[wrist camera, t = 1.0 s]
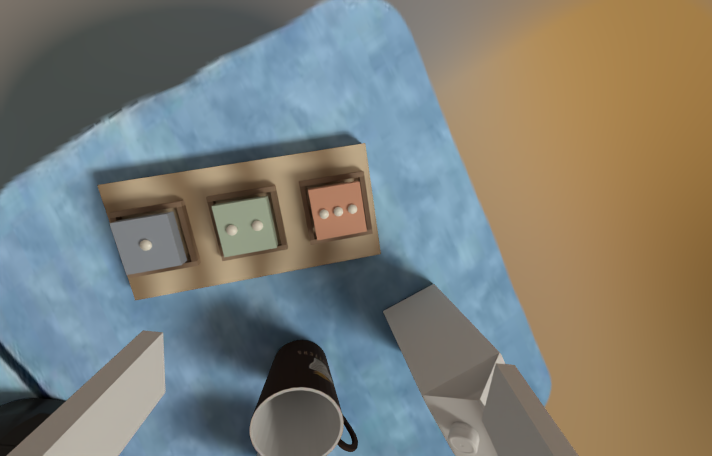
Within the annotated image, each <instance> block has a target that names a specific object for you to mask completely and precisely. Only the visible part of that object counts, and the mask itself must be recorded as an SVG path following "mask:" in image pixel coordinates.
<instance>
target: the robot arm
mask: <svg viewBox="0 0 712 456" xmlns="http://www.w3.org/2000/svg"><path fill="white" fill-rule="evenodd" d="M164 393H165V370H164V345H163V332H152V331H142V332H141V333H140V334H139V335H138V336H136V337H135V338H134V339H133V340H132V341H131V342H130V343H129V344H128V345H127V346H126V347H124V348H123V349H122V350H121V351H120V352H119V353H118V354H117V355H116V356H115V357H114V358H112V359H111V360H110V361H109V362H108V363H107V364H106V365H105V366H104V367H103V368H102V369H100V370H99V371H98V372H97V373H96V374H95V375H94V376H93V377H92V378H91V379H90V380H88V381H87V382H86V383H85V384H84V385H83V386H82V387H81V388H80V389H79V390H78V391H77V392H75V393H74V394H73V395H72V396H71V397H70V398H69V399H68V400H67V401H66V402H63V401H58V400H53V399H43V398H32V399H23V400H17V401H13V402H10V403H7V404H4V405H2V406H0V456H119V454H120V453H121V452H122V450H123V449H124V448H125V446H126V445H127V443H128V442H129V441H130V439H131V438H132V437H133V435H134V434H135V433H136V431H137V430H138V429H139V427H140V426H141V425H142V423H143V422H144V420H145V419H146V418H147V416H148V415H149V414H150V412H151V411H152V410H153V408H154V407H155V406H156V404H157V403H158V402H159V400H160V399H161V397H162V396H163V395H164ZM482 421H483V424H484V426H485V428H486V430H487V432H488V435H489V437H490V439H491V441H492V444H493V446H494V448H495V450H496V452H497V455H498V456H578V455H577V453H576V452H575V450H574V449H573V447H572V446H571V445H570V443H569V442H568V440H567V439H566V438H565V436H564V435H563V433H562V432H561V431H560V429H559V428H558V426H557V425H556V423H555V422H554V421H553V419H552V418H551V416H550V415H549V413H548V412H547V410H546V409H545V408H544V406H543V405H542V403H541V402H540V401H539V399H538V398H537V396H536V395H535V393H534V392H533V391H532V389H531V388H530V386H529V385H528V383H527V382H526V381H525V379H524V378H523V376H522V375H521V374H520V372H519V371H518V369H517V368H516V366H515V365H509V364H498V363H496V364H495V368H494V372H493V376H492V380H491V384H490V388H489V392H488V396H487V400H486V404H485V408H484V412H483V416H482Z"/></svg>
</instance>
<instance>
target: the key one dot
mask: <svg viewBox="0 0 712 456" xmlns="http://www.w3.org/2000/svg"><path fill="white" fill-rule="evenodd" d="M110 227H111V230H112V233H113V236H114V239H115V242H116V245H117V248H118V251H119V254H120V257H121V260H122V263H123V266H124V269H125V272H126V275H130V274H136V273H141V272H147V271H152V270H158V269H163V268H169V267H174V266H180V265H182V264H183V263H185V262H186V261H187V258H186V255H185V251H184V248H183V244H182V241H181V237H180V233H179V230H178V226H177V223H176V219H175V216H174V212H173V211H172V212H166V213H160V214H154V215H148V216H142V217H136V218H130V219H124V220H118V221H115V222H112V223H110Z"/></svg>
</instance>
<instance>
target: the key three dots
mask: <svg viewBox="0 0 712 456" xmlns="http://www.w3.org/2000/svg"><path fill="white" fill-rule="evenodd" d="M308 192H309V198H310V203H311V209H312V214H313V219H314V225H315V230H316V236H317V240H323V239H328V238H334V237H339V236H345V235H350V234H356V233H361V232H367V228H366V221H365V215H364V208H363V201H362V195H361V188H360V182H359V181H352V182H346V183H340V184H334V185H328V186H322V187H316V188H310V189H308Z"/></svg>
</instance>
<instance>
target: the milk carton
mask: <svg viewBox="0 0 712 456" xmlns="http://www.w3.org/2000/svg"><path fill="white" fill-rule="evenodd" d="M383 313H384V315H385V317H386V319H387V322H388V324H389V326H390V328H391V330H392V332H393V335H394V337H395V339H396V341H397V343H398V345H399V348H400V350H401V352H402V354H403V356H404V358H405V360H406V363H407V365H408V367H409V369H410V371H411V373H412V376H413V378H414V380H415V382H416V384H417V386H418V388H419V391H420V393H421V395H422V397H423V399H424V401H425V403H426V405H427V406H428V408H429V410H430V412H431V414H432V415H433V417H434V419H435V421H436V423H437V424H438V426H439V428H440V430H441V432H442V433H443V435H444V437H445V439H446V441H447V442H448V444H449V446H450V448H451V449H452V451H453V453H454V454H455V455H456V456H498V455H497V452H496V450H495V448H494V446H493V444H492V441H491V439H490V437H489V435H488V432H487V430H486V428H485V426H484V424H483V421H482V416H483V412H484V408H485V404H486V400H487V396H488V392H489V388H490V384H491V380H492V376H493V372H494V368H495V364H496V363H498V364H505V362H504V360H503V358H502V356H501V354H500V352H499V351H498V350H497V349H496V348H495V347H494V346H493V345H492V344H491V343H490V342H489V341H488V340H487V339H486V338H485V337H484V336H483V335H482V334H481V333H480V332H479V330H478V329H477V328H476V327H475V326H474V325H473V324H472V323H471V322H470V321H469V320H468V319H467V318H466V317H465V316H464V315H463V314H462V313H461V312H460V311H459V309H458V308H457V307H456V306H455V305H454V304H453V303H452V302H451V301H450V300H449V299H448V298H447V297H446V296H445V295H444V294H443V293H442V292H441V291H440V290H439V289H438V287H437V286H436V285H435V284H432V285H430V286H429V287H427V288H425V289H423V290H421V291H419V292H417V293H416V294H414V295H412V296H410V297H408V298H406V299H405V300H403V301H401V302H399V303H397V304H395V305H393V306H392V307H390V308H388V309H386V310H384V311H383Z"/></svg>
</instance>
